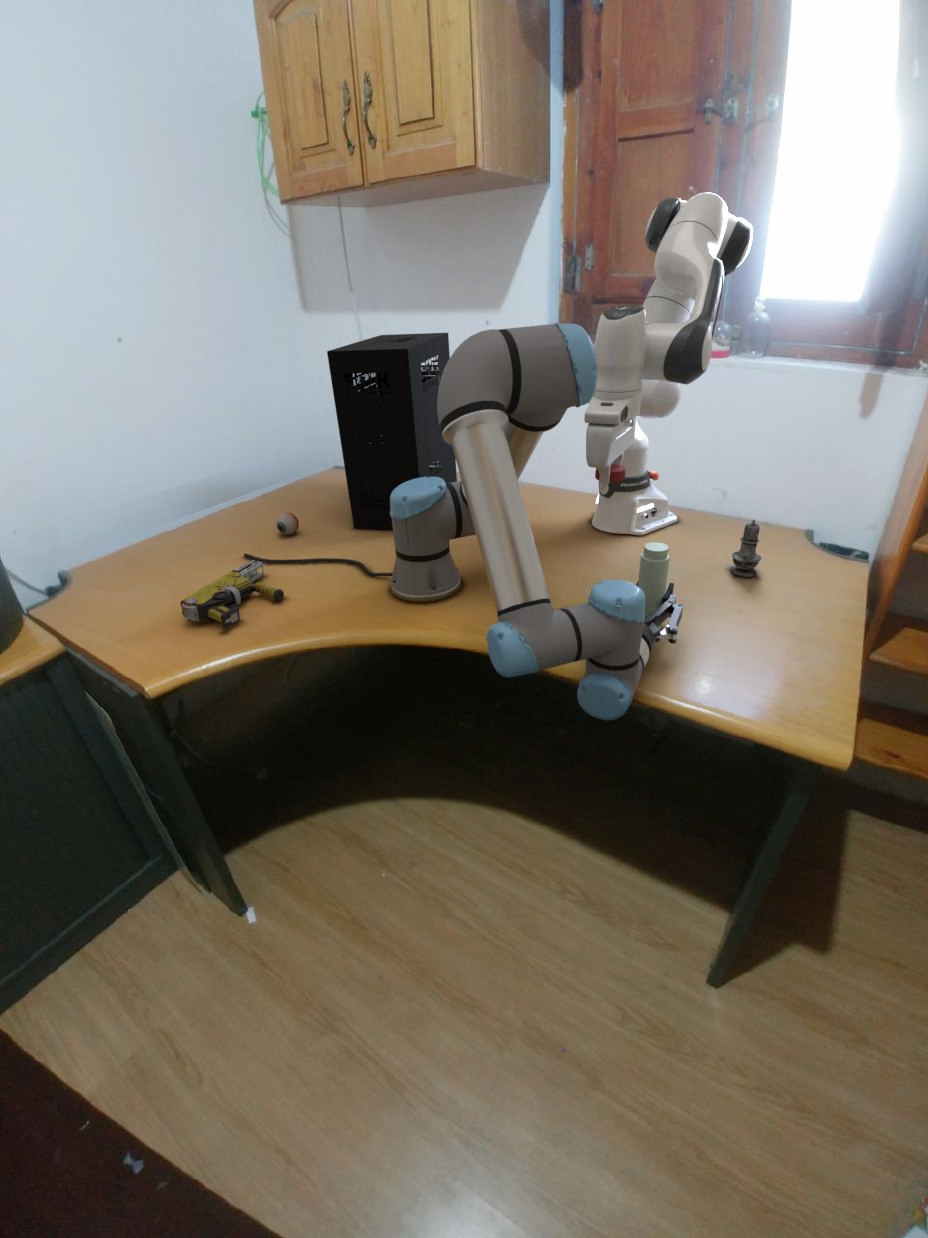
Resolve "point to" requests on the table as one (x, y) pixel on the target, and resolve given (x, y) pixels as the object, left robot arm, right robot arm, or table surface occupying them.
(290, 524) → the eyeball
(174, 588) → the table surface
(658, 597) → the jar
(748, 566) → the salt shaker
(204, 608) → the toy gun
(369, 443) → the black computer case
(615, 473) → the lid
